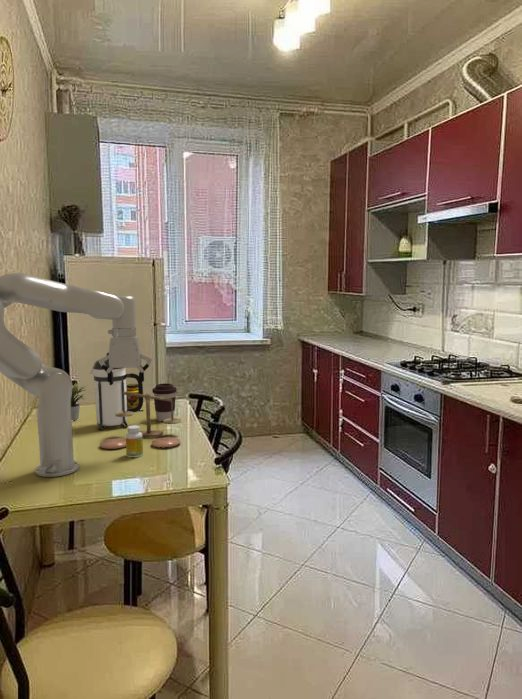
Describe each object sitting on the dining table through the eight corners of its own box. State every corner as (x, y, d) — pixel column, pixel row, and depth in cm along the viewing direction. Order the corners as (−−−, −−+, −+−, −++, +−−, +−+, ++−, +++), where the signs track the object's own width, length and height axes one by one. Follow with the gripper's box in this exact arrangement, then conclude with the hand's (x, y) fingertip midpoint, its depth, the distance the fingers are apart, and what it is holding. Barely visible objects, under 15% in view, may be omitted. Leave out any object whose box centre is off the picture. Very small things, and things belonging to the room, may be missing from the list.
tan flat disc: (179, 448, 182) (178, 445, 182) (149, 449, 181) (149, 445, 181) (181, 440, 192) (181, 437, 192) (154, 441, 191) (154, 437, 191)
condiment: (129, 413, 235) (128, 386, 233) (122, 409, 241) (121, 383, 240) (144, 410, 239) (143, 384, 237) (137, 407, 246) (136, 382, 244)
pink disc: (126, 450, 181) (126, 446, 181) (96, 450, 181) (96, 447, 180) (131, 441, 191) (131, 438, 191) (104, 442, 190) (103, 438, 190)
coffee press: (114, 433, 202) (110, 355, 198) (84, 428, 210) (81, 353, 206) (145, 423, 217) (142, 350, 213) (116, 418, 225) (113, 348, 221)
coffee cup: (161, 424, 215) (160, 387, 213) (149, 419, 223) (147, 384, 221) (181, 419, 222) (180, 384, 220) (169, 415, 229) (168, 381, 227)
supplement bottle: (138, 458, 172) (137, 429, 171) (123, 457, 173) (122, 428, 172) (145, 453, 177) (144, 425, 176) (130, 452, 178) (129, 424, 177)
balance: (114, 439, 194) (112, 393, 192) (118, 434, 201) (116, 390, 199) (180, 437, 195) (179, 392, 193) (182, 432, 202) (181, 388, 200)
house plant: (87, 423, 216) (85, 384, 214) (51, 425, 214) (49, 386, 212) (92, 415, 230) (90, 378, 228) (59, 417, 228) (57, 379, 226)
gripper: (95, 334, 170) (97, 386, 172) (149, 333, 172) (151, 385, 174) (100, 332, 178) (102, 382, 180) (152, 332, 179) (153, 381, 181)
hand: (126, 384), depth 177 cm, fingers open, 9 cm apart
